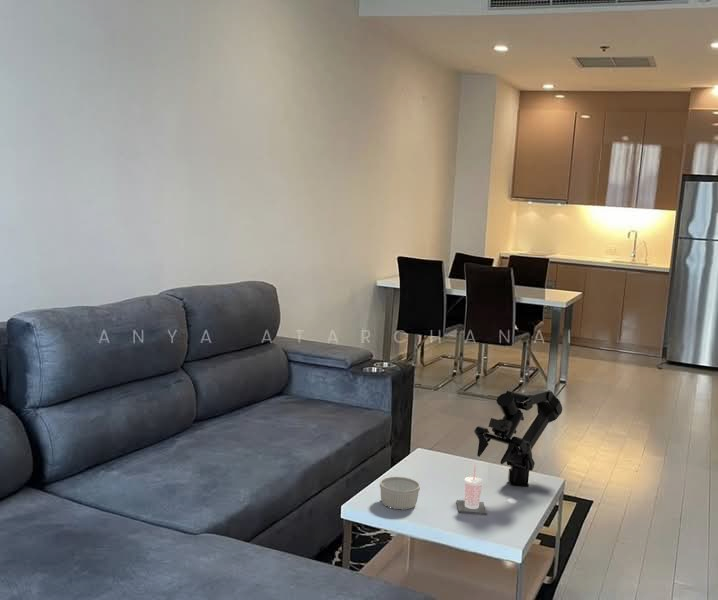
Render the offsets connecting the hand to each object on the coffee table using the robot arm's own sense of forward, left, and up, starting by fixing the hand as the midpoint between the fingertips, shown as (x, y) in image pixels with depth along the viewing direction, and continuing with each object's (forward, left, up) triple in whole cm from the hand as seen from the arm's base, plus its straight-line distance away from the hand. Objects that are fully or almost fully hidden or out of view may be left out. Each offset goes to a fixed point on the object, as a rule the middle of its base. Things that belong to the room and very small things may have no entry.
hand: (489, 459), depth 250 cm
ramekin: (+30, +11, -14) cm, 35 cm away
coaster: (+6, +10, -14) cm, 18 cm away
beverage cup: (+6, +10, -13) cm, 17 cm away
